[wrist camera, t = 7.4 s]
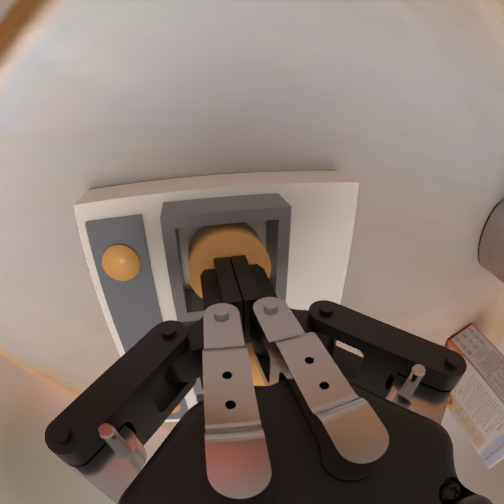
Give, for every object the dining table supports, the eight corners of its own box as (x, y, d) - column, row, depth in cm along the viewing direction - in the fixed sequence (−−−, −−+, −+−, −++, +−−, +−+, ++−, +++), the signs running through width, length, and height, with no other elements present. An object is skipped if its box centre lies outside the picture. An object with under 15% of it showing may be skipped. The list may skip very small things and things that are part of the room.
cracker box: (453, 371, 41) (511, 449, 23) (429, 387, 40) (486, 471, 22) (473, 319, 34) (552, 410, 16) (446, 338, 33) (527, 440, 15)
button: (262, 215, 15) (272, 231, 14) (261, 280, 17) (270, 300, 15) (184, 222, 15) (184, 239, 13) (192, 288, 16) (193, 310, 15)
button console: (336, 170, 19) (380, 193, 14) (306, 376, 29) (324, 415, 24) (89, 189, 16) (58, 220, 11) (153, 398, 26) (153, 441, 21)
